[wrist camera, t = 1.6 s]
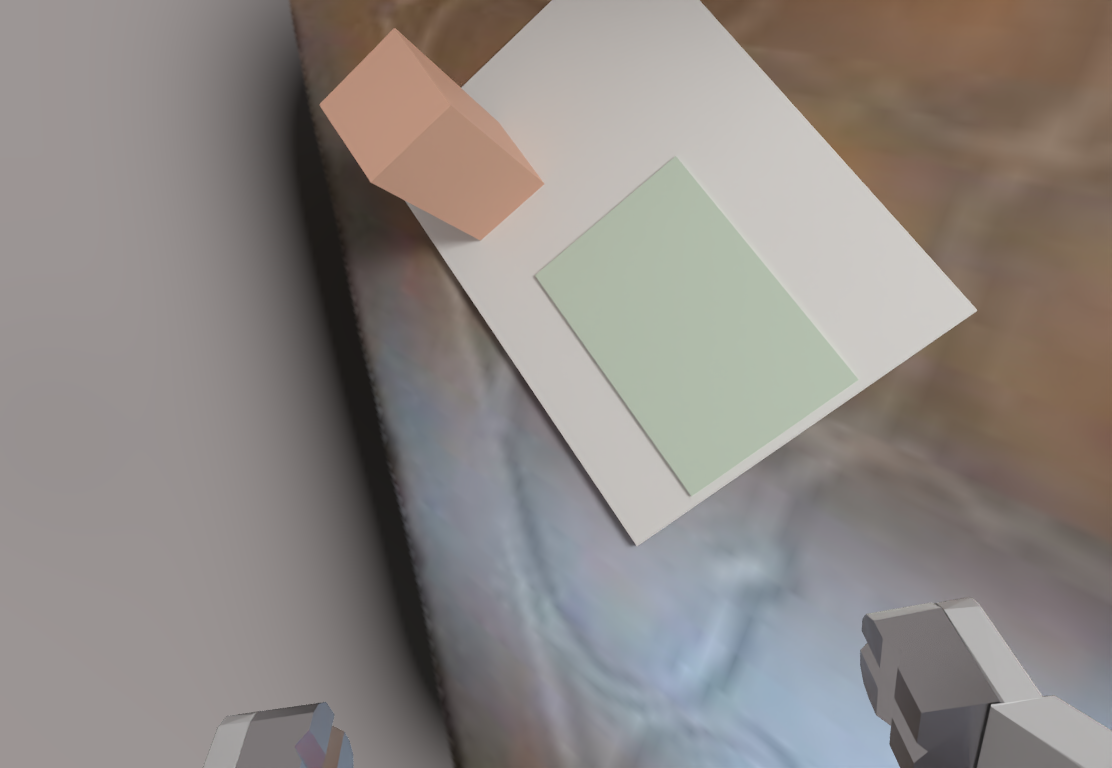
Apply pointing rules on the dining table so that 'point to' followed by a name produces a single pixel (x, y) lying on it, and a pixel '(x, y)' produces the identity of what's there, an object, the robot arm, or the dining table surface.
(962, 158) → the dining table surface
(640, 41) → the white mat
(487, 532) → the dining table surface
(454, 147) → the terracotta block
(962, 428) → the dining table surface
